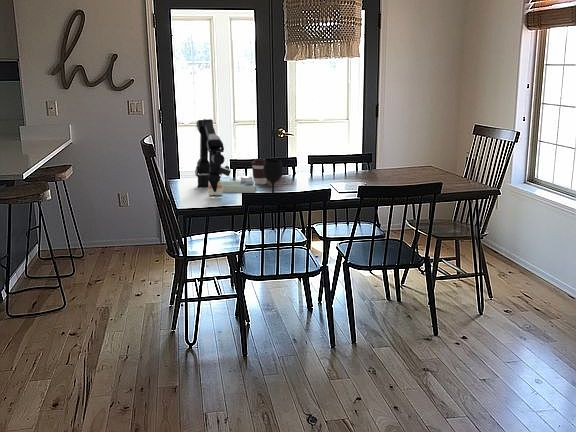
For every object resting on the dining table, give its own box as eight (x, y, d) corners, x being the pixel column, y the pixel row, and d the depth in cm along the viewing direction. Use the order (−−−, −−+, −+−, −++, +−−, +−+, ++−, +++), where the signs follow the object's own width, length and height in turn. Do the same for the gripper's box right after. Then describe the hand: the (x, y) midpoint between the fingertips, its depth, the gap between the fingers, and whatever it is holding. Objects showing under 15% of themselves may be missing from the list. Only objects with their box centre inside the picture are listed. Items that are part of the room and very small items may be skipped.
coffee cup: (253, 186, 364) (253, 160, 360) (250, 183, 373) (249, 158, 370) (270, 185, 367) (270, 160, 363) (266, 182, 376) (266, 157, 372)
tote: (216, 193, 343) (216, 186, 342) (218, 187, 358) (218, 181, 357) (254, 193, 344) (254, 186, 343) (254, 187, 359) (254, 181, 358)
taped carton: (208, 194, 332) (208, 181, 330) (209, 192, 337) (208, 180, 335) (221, 194, 332) (221, 181, 331) (222, 192, 337) (222, 180, 335)
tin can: (240, 190, 348) (240, 178, 346) (240, 188, 354) (240, 176, 352) (252, 190, 348) (252, 178, 346) (252, 188, 354) (252, 176, 353)
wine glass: (282, 196, 337) (282, 159, 332) (283, 200, 326) (283, 162, 322) (263, 196, 336) (263, 159, 332) (263, 200, 326) (263, 162, 321)
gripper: (229, 164, 322) (229, 194, 325) (230, 159, 340) (231, 187, 344) (207, 164, 321) (208, 194, 325) (210, 159, 339) (211, 187, 343)
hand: (215, 190), depth 334 cm, fingers closed on taped carton, 5 cm apart
